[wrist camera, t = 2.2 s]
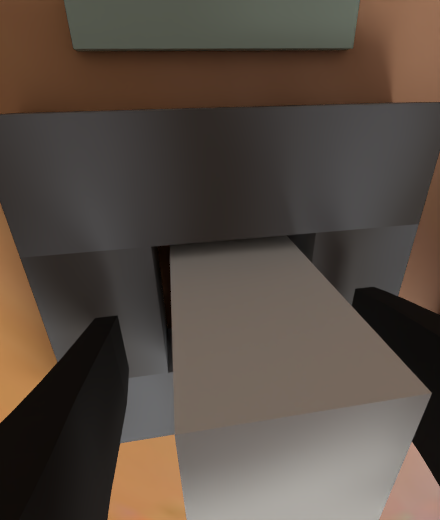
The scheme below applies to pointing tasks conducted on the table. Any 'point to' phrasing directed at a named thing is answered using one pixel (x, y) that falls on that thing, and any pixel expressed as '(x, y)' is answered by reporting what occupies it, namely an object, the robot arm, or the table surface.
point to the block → (281, 389)
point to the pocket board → (204, 209)
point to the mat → (211, 25)
